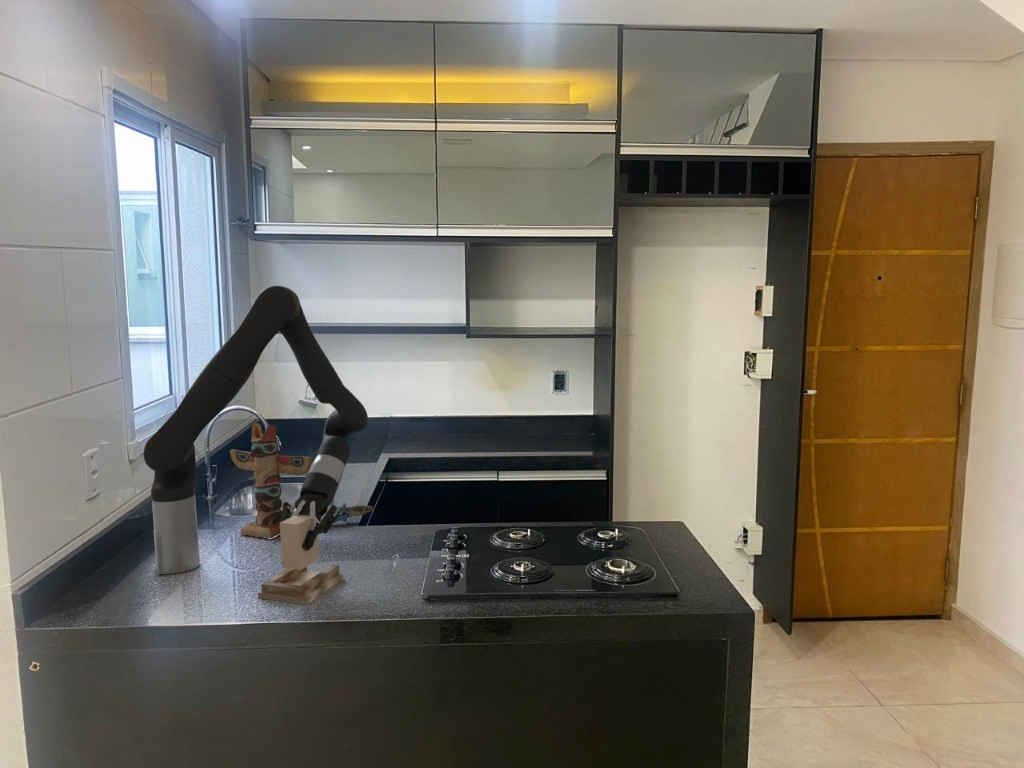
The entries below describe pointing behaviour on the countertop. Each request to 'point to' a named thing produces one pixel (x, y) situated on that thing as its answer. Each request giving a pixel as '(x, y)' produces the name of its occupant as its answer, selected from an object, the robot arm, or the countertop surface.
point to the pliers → (352, 511)
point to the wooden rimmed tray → (300, 585)
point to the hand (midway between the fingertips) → (295, 547)
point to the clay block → (297, 543)
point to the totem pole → (267, 478)
